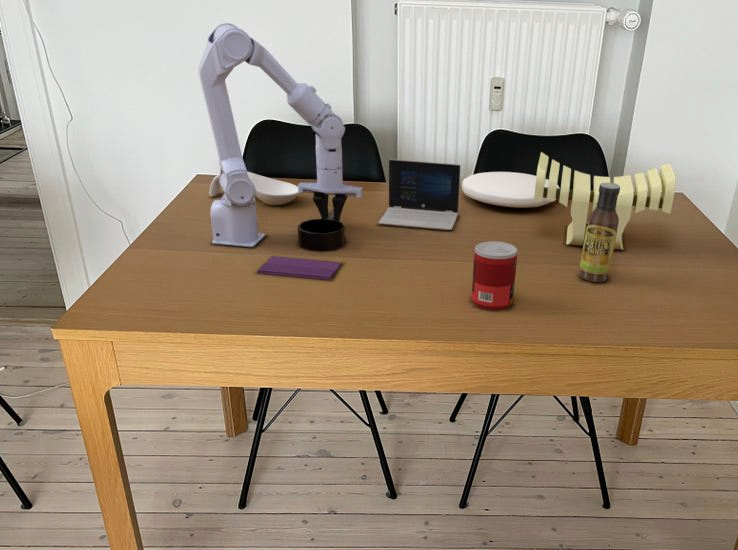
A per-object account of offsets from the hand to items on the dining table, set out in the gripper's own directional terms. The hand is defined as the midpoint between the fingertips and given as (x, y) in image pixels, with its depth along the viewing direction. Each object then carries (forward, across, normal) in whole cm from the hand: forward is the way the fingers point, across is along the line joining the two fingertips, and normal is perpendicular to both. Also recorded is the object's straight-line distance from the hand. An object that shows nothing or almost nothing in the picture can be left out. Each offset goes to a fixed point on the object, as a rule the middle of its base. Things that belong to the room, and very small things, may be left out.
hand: (331, 224), depth 170 cm
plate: (+2, -40, -37) cm, 54 cm away
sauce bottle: (+2, -60, +14) cm, 62 cm away
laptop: (+2, -18, -13) cm, 23 cm away
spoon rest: (+2, +26, -18) cm, 31 cm away
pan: (+2, 0, +4) cm, 5 cm away
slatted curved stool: (+2, -62, -10) cm, 62 cm away
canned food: (+2, -40, +31) cm, 51 cm away
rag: (+2, 0, +23) cm, 23 cm away
